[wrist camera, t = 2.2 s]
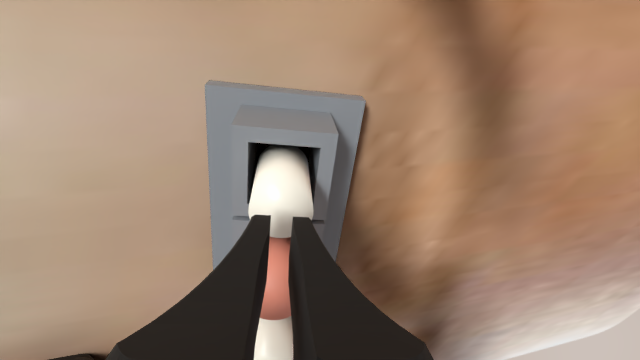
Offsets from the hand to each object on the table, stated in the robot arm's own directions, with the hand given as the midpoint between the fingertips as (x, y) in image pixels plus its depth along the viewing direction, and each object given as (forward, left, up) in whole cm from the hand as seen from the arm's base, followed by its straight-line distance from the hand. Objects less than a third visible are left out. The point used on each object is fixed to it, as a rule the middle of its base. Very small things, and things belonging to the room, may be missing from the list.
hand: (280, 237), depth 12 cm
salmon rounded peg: (0, +6, -6) cm, 8 cm away
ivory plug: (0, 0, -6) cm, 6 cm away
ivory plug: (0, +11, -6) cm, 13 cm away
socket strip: (0, +6, -10) cm, 11 cm away
